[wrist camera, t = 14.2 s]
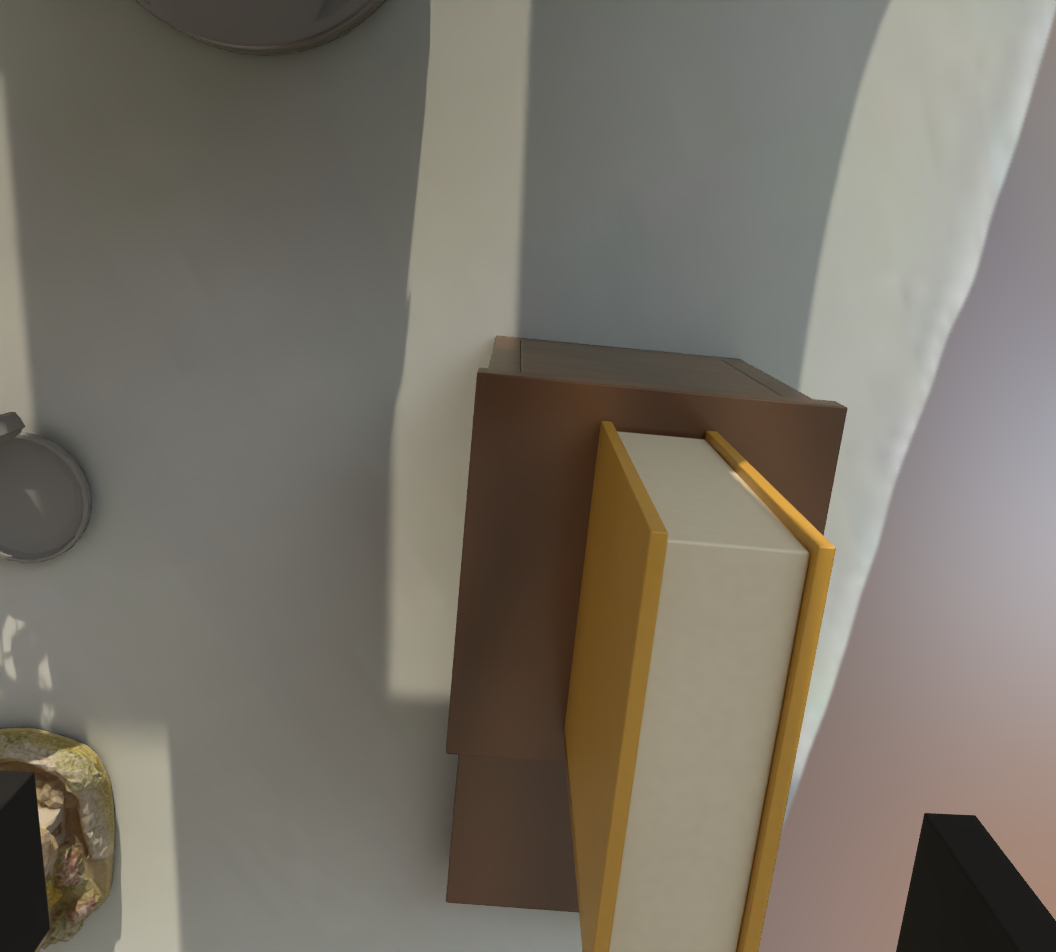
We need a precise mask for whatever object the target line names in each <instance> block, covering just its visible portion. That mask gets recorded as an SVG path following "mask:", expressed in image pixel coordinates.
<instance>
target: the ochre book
mask: <svg viewBox="0 0 1056 952" xmlns="http://www.w3.org/2000/svg"><path fill="white" fill-rule="evenodd" d="M835 550H836V548H835V547H834V546H833V545H832V544H831V543H830V542H829V541H828V540H827V539H826V538H825V537H824V536H823V535H822V534H821V533H820V532H819V531H818V530H817V529H816V528H815V527H814V526H813V525H812V524H811V523H810V522H809V521H808V520H807V519H806V518H805V517H804V516H803V515H802V514H801V513H799V512H798V511H797V510H796V509H795V508H794V507H793V506H792V505H791V504H790V503H789V502H788V501H787V500H786V499H785V498H784V497H783V496H782V495H781V494H780V493H779V492H778V491H777V490H776V489H775V488H774V487H773V486H772V485H771V484H770V483H769V482H768V481H767V480H766V479H765V478H764V477H763V476H762V475H761V474H760V473H759V472H758V471H757V470H756V469H755V468H754V467H753V466H752V465H750V464H749V463H748V462H747V461H746V460H745V459H744V458H743V457H742V456H741V455H740V454H739V453H738V452H737V451H736V450H735V449H734V448H733V447H732V446H731V445H730V444H729V443H728V442H727V441H726V440H725V439H724V438H723V437H722V436H721V435H720V434H719V433H718V432H716V431H706V435H705V440H704V439H693V438H682V437H672V436H661V435H650V434H640V433H629V432H618V431H616V429H615V427H614V425H613V423H612V422H610V421H601V424H600V433H599V441H598V450H597V458H596V466H595V475H594V483H593V492H592V500H591V508H590V517H589V525H588V534H587V542H586V550H585V559H584V567H583V576H582V584H581V592H580V601H579V609H578V618H577V626H576V634H575V643H574V651H573V660H572V668H571V676H570V685H569V693H568V702H567V710H566V718H565V727H564V747H565V758H566V769H567V780H568V792H569V803H570V814H571V825H572V837H573V848H574V859H575V870H576V882H577V893H578V904H579V915H580V927H581V938H582V949H583V952H758V949H759V944H760V939H761V934H762V929H763V923H764V919H765V913H766V908H767V903H768V898H769V893H770V887H771V882H772V876H773V871H774V866H775V861H776V856H777V851H778V846H779V841H780V836H781V830H782V825H783V820H784V815H785V810H786V804H787V799H788V794H789V789H790V784H791V778H792V773H793V768H794V763H795V758H796V752H797V747H798V742H799V737H800V732H801V727H802V721H803V716H804V711H805V706H806V701H807V695H808V690H809V685H810V680H811V675H812V669H813V664H814V659H815V654H816V649H817V643H818V638H819V633H820V628H821V623H822V618H823V612H824V607H825V602H826V597H827V592H828V586H829V581H830V576H831V571H832V566H833V560H834V555H835Z"/></svg>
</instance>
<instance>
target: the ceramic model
mask: <svg viewBox="0 0 1056 952" xmlns="http://www.w3.org/2000/svg"><path fill="white" fill-rule="evenodd" d="M0 770H3V771H24V772H34V774H35V784H36V793H37V803H38V813H39V823H40V833H41V843H42V853H43V863H44V873H45V882H46V892H47V902H48V912H49V922H50V929H49V931H48V932H47V934H46V935H45V937H44V938H43V940H42V941H41V943H40V944H39V946H38V947H37V949H36V950H35V952H39V948H44V949H45V948H46V947H48V946H49V945H50V944H55V943H57V942H59V941H64V942H66V941H68V940H70V939H71V938H72V937H73V936H74V935H75V934H76V933H77V932H78V931H79V930H80V929H81V927H82V926H83V924H82V923H83V921H84V919H85V918H86V917H88V916H89V915H90V914H91V913H92V912H94V911H95V910H96V909H97V908H98V907H99V906H100V905H101V904H102V903H103V902H104V901H105V900H106V898H107V897H108V896H109V891H110V889H111V883H112V875H113V858H114V847H115V818H114V804H113V795H112V787H111V782H110V778H109V776H108V774H107V771H106V768H105V766H104V764H103V762H102V761H101V759H100V757H99V756H98V755H97V754H96V753H95V752H94V751H93V750H92V749H91V748H89V747H88V746H87V745H85V744H83V743H79V742H77V741H75V740H73V739H70V738H67V737H64V736H61V735H57V734H54V733H51V732H49V731H44V730H40V729H36V728H6V729H0Z"/></svg>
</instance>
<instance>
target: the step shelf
mask: <svg viewBox="0 0 1056 952" xmlns="http://www.w3.org/2000/svg"><path fill="white" fill-rule="evenodd" d="M846 413H847V407H845V406H843V405H841V404H839V403H837V402H835V401H826V400H815V399H811V398H810V397H808V396H806V395H804V394H802V393H801V392H799V391H797V390H795V389H793V388H791V387H790V386H788V385H786V384H784V383H782V382H780V381H779V380H777V379H775V378H773V377H771V376H770V375H768V374H766V373H764V372H762V371H760V370H759V369H757V368H755V367H753V366H751V365H750V364H748V363H746V362H744V361H742V360H741V359H733V358H723V357H713V356H702V355H692V354H681V353H671V352H661V351H650V350H640V349H630V348H619V347H609V346H598V345H588V344H578V343H567V342H557V341H546V340H536V339H526V338H515V337H505V336H496V338H495V343H494V347H493V351H492V356H491V360H490V364H489V368H479V369H478V372H477V380H476V392H475V404H474V416H473V429H472V441H471V453H470V465H469V477H468V489H467V501H466V513H465V525H464V537H463V549H462V561H461V574H460V586H459V598H458V610H457V622H456V634H455V646H454V658H453V670H452V682H451V694H450V706H449V718H448V731H447V743H446V753H447V754H458V767H457V778H456V790H455V801H454V813H453V824H452V836H451V847H450V859H449V870H448V882H447V893H446V902H448V903H461V904H475V905H488V906H501V907H515V908H528V909H541V910H554V911H568V912H579V904H578V893H577V882H576V870H575V859H574V848H573V837H572V825H571V814H570V803H569V792H568V780H567V769H566V758H565V747H564V727H565V718H566V710H567V702H568V693H569V685H570V676H571V668H572V660H573V651H574V643H575V634H576V626H577V618H578V609H579V601H580V592H581V584H582V576H583V567H584V559H585V550H586V542H587V534H588V525H589V517H590V508H591V500H592V492H593V483H594V475H595V466H596V458H597V450H598V441H599V433H600V424H601V421H610V422H612V423H613V425H614V427H615V429H616V431H618V432H629V433H640V434H650V435H661V436H672V437H682V438H693V439H704V440H705V435H706V431H716V432H718V433H719V434H720V435H721V436H722V437H723V438H724V439H725V440H726V441H727V442H728V443H729V444H730V445H731V446H732V447H733V448H734V449H735V450H736V451H737V452H738V453H739V454H740V455H741V456H742V457H743V458H744V459H745V460H746V461H747V462H748V463H749V464H750V465H752V466H753V467H754V468H755V469H756V470H757V471H758V472H759V473H760V474H761V475H762V476H763V477H764V478H765V479H766V480H767V481H768V482H769V483H770V484H771V485H772V486H773V487H774V488H775V489H776V490H777V491H778V492H779V493H780V494H781V495H782V496H783V497H784V498H785V499H786V500H787V501H788V502H789V503H790V504H791V505H792V506H793V507H794V508H795V509H796V510H797V511H798V512H799V513H801V514H802V515H803V516H804V517H805V518H806V519H807V520H808V521H809V522H810V523H811V524H812V525H813V526H814V527H815V528H816V529H817V530H818V531H819V532H820V533H821V534H822V535H824V529H825V524H826V519H827V513H828V508H829V503H830V498H831V492H832V487H833V482H834V476H835V471H836V466H837V460H838V455H839V450H840V444H841V439H842V434H843V429H844V423H845V418H846Z"/></svg>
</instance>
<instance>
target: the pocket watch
mask: <svg viewBox="0 0 1056 952" xmlns="http://www.w3.org/2000/svg"><path fill="white" fill-rule="evenodd" d="M24 427H25V425H24V424H23V422H22V420H21V418H20V417H19V416H18V415H17V414H16V412H9V413H5V414H1V415H0V557H2V558H5V559H8V560H11V561H18V562H27V563H34V562H41V561H45V560H49V559H52V558H54V557H56V556H58V555H60V554H62V553H64V552H65V551H67V550H69V549H70V548H72V547H73V546H74V544H75V543H76V542H77V541H78V540H79V539H80V537H81V535H82V534H83V533H84V531H85V529H86V527H87V525H88V522H89V518H90V513H91V494H90V490H89V485H88V483H87V480H86V478H85V476H84V473H83V472H82V470H81V469H80V467H79V466H78V464H77V463H76V461H75V460H74V459H73V458H72V457H71V456H70V455H69V454H68V453H67V452H66V451H65V450H63V449H62V448H61V447H59V446H58V445H56V444H55V443H53V442H52V441H50V440H47V439H45V438H42V437H40V436H37V435H34V434H29V433H24V432H21V429H23V428H24Z"/></svg>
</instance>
